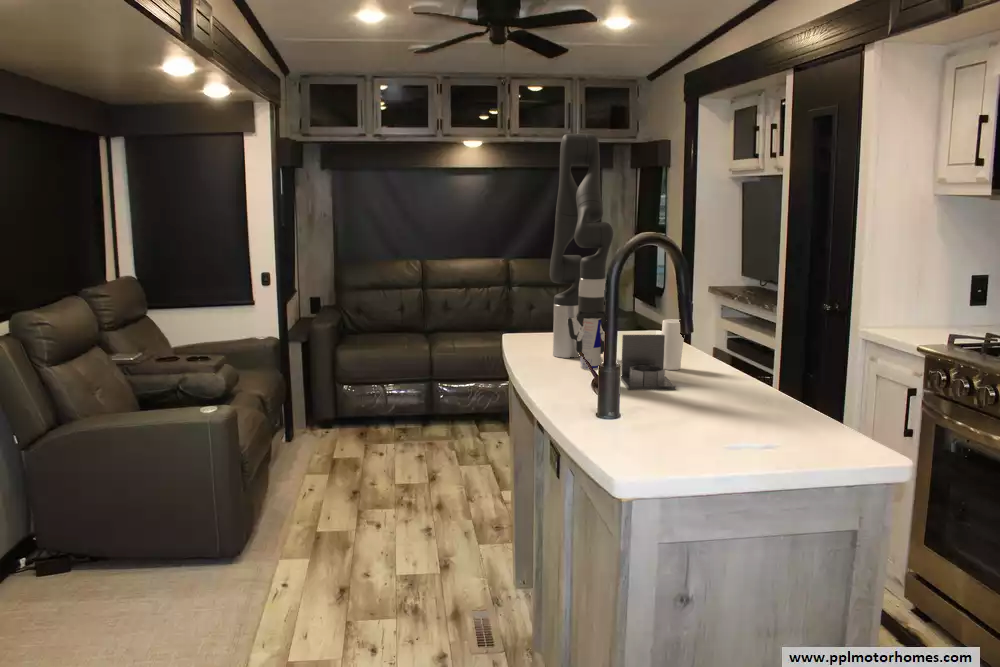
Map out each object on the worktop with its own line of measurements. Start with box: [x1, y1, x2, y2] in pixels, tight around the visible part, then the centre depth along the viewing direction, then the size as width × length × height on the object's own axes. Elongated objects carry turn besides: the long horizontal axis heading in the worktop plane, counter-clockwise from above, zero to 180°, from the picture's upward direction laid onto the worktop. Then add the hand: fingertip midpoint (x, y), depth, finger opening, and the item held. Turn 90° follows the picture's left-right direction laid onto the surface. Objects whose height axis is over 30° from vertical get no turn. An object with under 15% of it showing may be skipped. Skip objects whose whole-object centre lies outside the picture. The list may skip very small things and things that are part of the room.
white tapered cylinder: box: [661, 318, 685, 371], centre depth 251 cm, size 7×7×15 cm
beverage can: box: [580, 318, 603, 372], centre depth 231 cm, size 6×6×15 cm
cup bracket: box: [620, 334, 677, 391], centre depth 231 cm, size 14×13×13 cm
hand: (590, 353), depth 232 cm, fingers closed on beverage can, 5 cm apart
